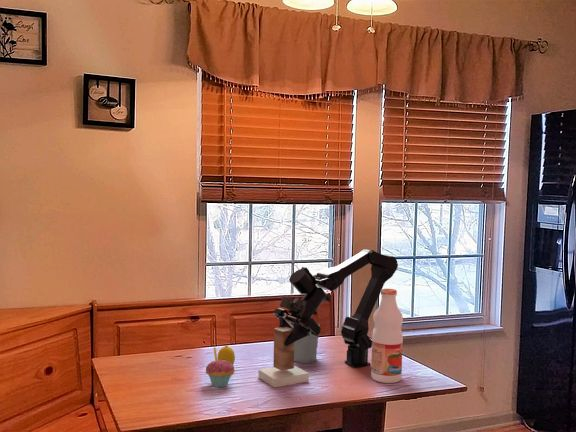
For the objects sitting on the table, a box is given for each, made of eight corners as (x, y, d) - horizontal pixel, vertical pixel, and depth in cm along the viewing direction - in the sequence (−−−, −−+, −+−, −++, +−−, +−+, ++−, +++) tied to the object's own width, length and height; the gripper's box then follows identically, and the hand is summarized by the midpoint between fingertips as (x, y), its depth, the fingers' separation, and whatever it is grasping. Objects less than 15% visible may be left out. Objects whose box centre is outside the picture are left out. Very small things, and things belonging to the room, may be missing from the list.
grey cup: (283, 358, 201) (284, 324, 200) (302, 352, 209) (303, 319, 208) (306, 365, 194) (307, 329, 194) (324, 358, 202) (325, 324, 201)
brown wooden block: (285, 364, 183) (286, 326, 182) (293, 368, 179) (294, 329, 179) (273, 366, 180) (274, 328, 180) (281, 370, 177) (282, 331, 176)
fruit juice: (377, 371, 189) (379, 286, 187) (405, 377, 184) (408, 289, 183) (366, 380, 181) (368, 290, 179) (395, 385, 176) (398, 293, 175)
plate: (291, 371, 187) (291, 364, 187) (308, 381, 179) (308, 373, 179) (258, 377, 181) (258, 369, 181) (274, 387, 173) (274, 379, 172)
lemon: (231, 373, 184) (232, 348, 184) (215, 372, 186) (215, 347, 185) (236, 368, 190) (237, 343, 189) (220, 366, 191) (220, 342, 190)
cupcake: (211, 390, 169) (211, 349, 168) (201, 381, 176) (201, 342, 176) (238, 386, 173) (239, 346, 172) (228, 377, 180) (228, 339, 180)
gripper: (278, 282, 188) (248, 320, 182) (314, 292, 173) (282, 334, 167) (297, 304, 193) (269, 342, 188) (334, 315, 178) (304, 356, 172)
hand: (280, 343), depth 179 cm, fingers open, 5 cm apart
